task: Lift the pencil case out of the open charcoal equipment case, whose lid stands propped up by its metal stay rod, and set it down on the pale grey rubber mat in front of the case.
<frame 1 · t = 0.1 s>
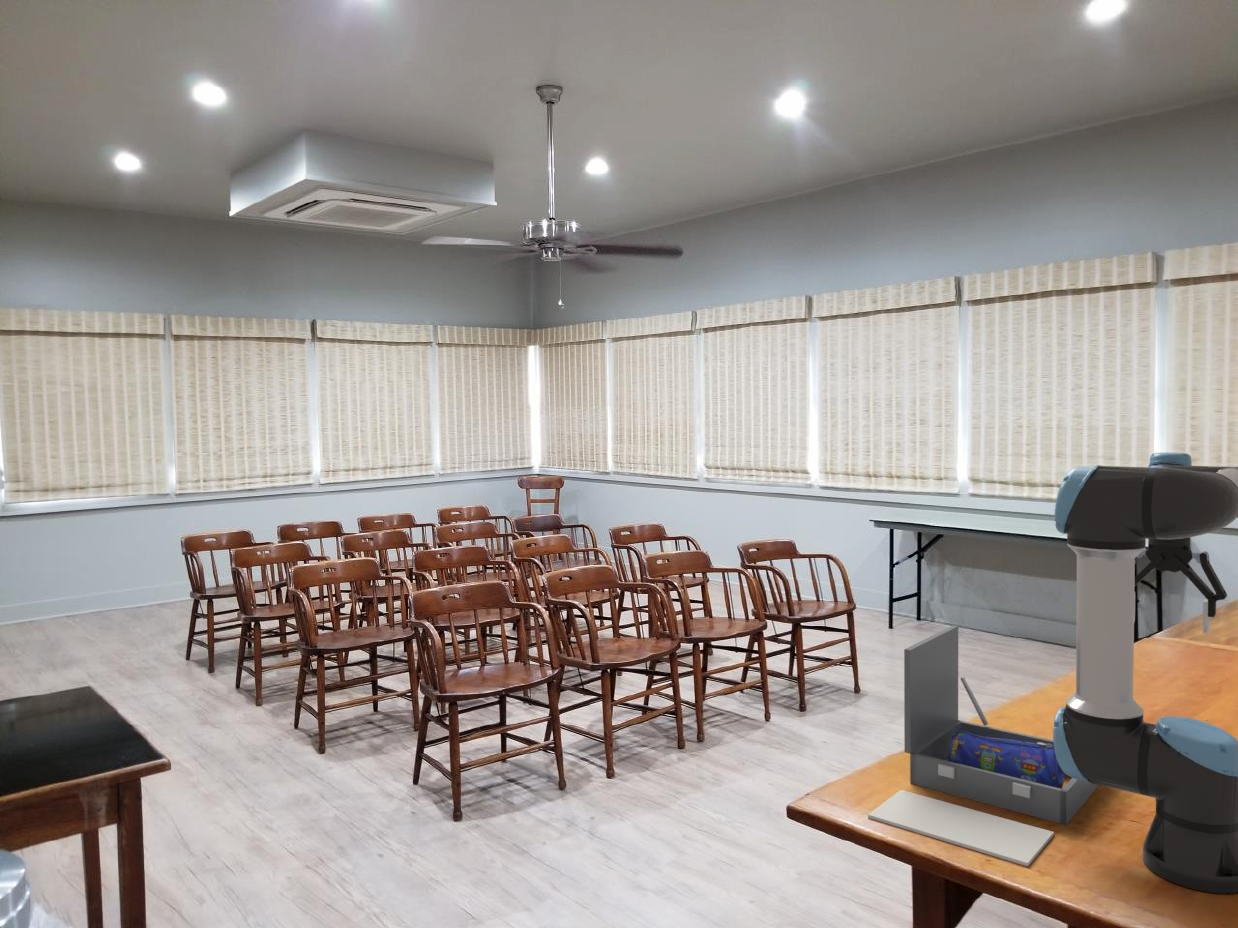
hand: (1167, 627, 189), 28 cm above the table, tool pointing down, fingers open, 13 cm apart
equipment case: (1006, 781, 180), on the table
pencil case: (1006, 783, 180), resting in equipment case
smartphone: (1111, 740, 202), on the table
grey mat: (958, 826, 161), on the table
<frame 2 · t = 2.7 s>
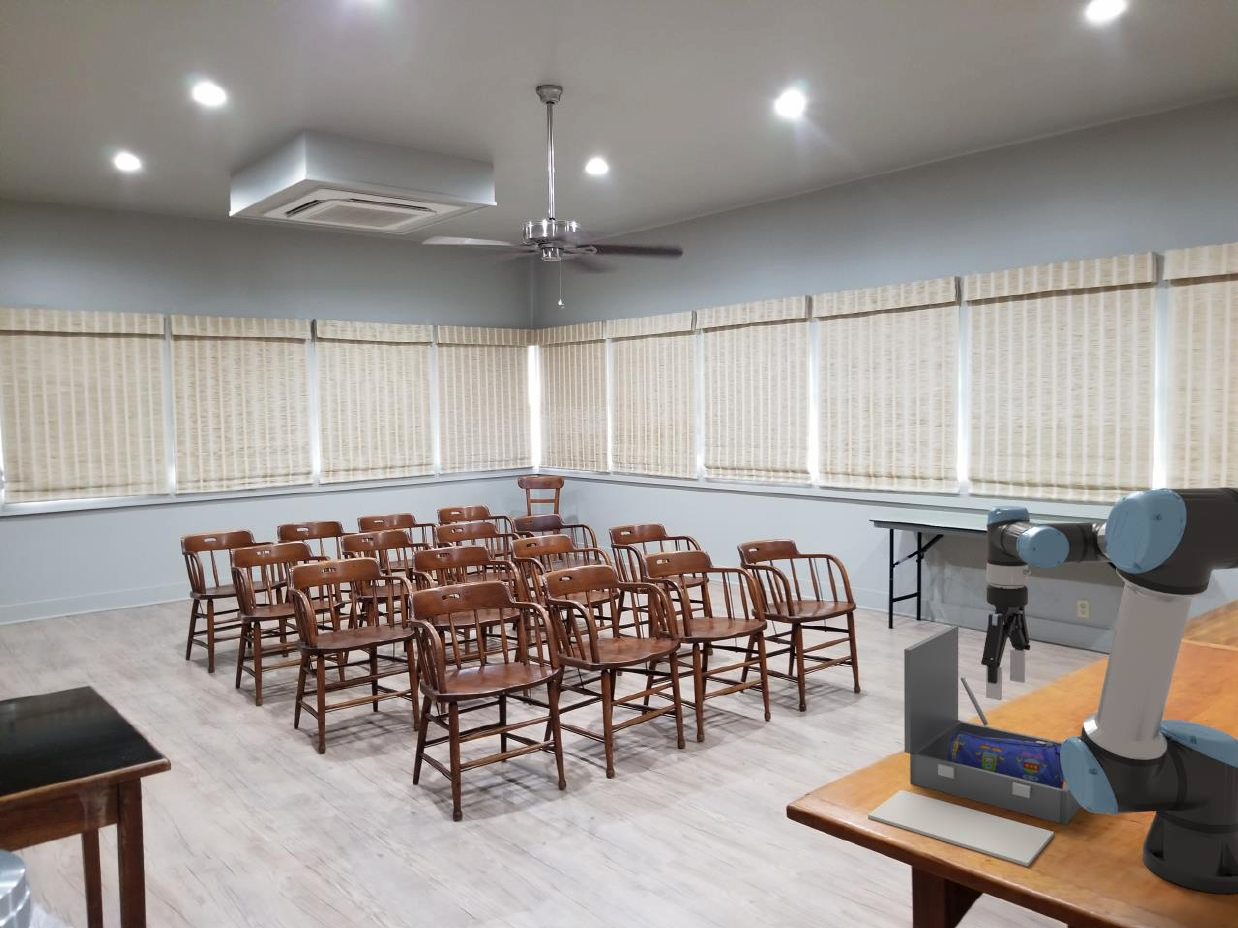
hand: (1005, 689, 179), 19 cm above the table, tool pointing down, fingers open, 13 cm apart
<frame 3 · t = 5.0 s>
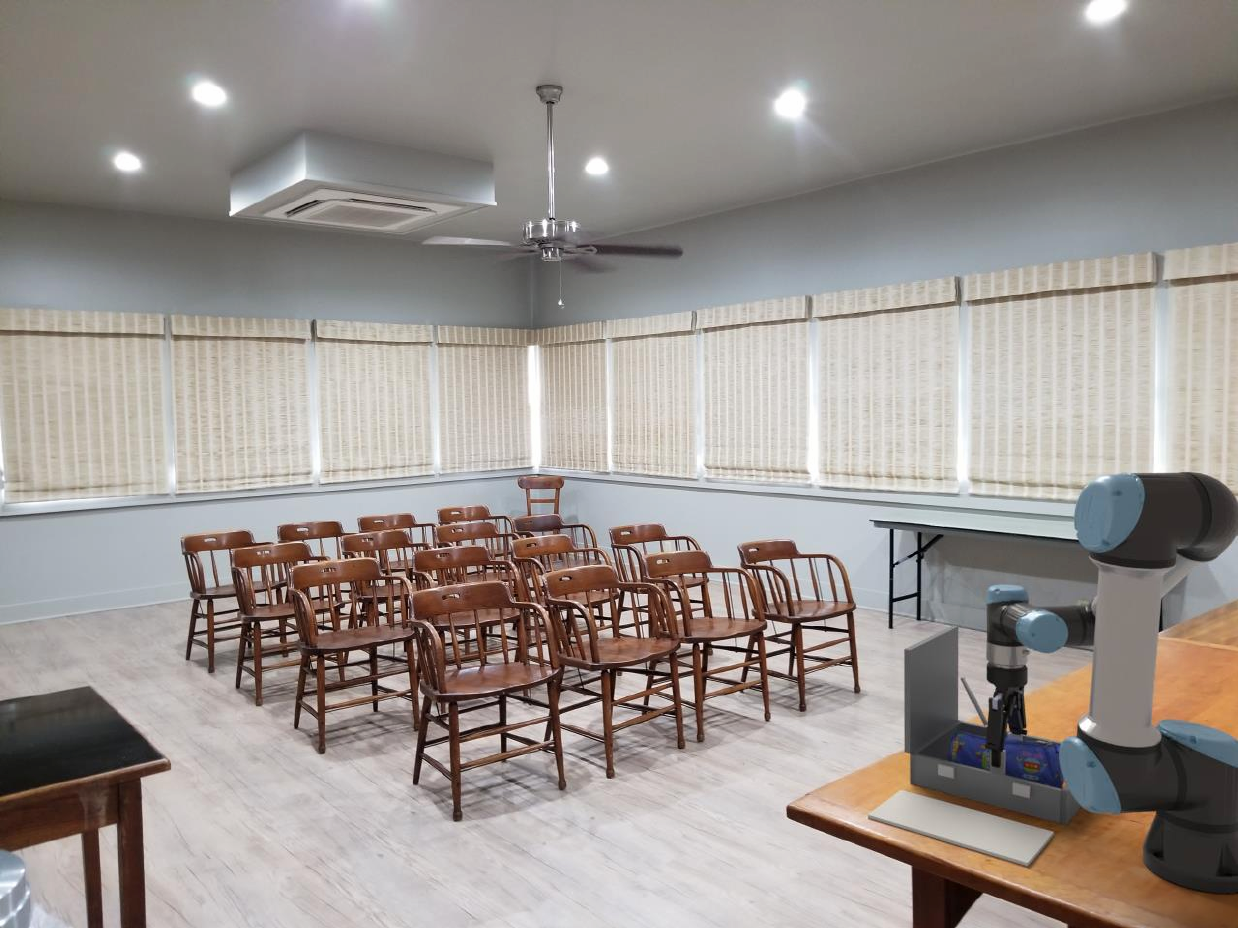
hand: (1006, 773, 180), 2 cm above the table, tool pointing down, fingers closed on pencil case, 9 cm apart
pencil case: (1005, 782, 180), resting in equipment case, touching gripper
everything else where it was.
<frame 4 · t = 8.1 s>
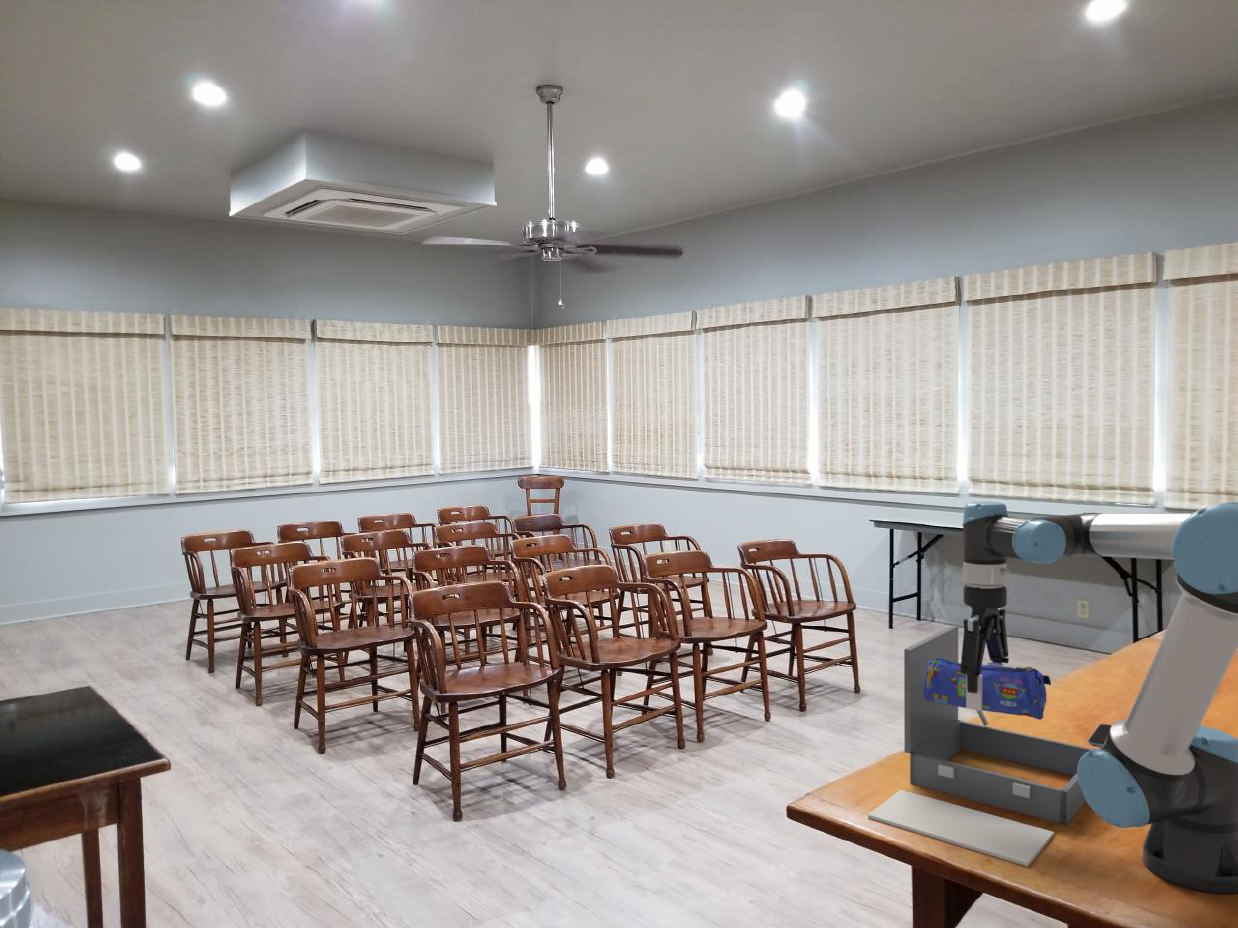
hand: (985, 702, 170), 19 cm above the table, tool pointing down, fingers closed on pencil case, 9 cm apart
pencil case: (984, 711, 170), point 17 cm above the table, touching gripper
everything else where it was.
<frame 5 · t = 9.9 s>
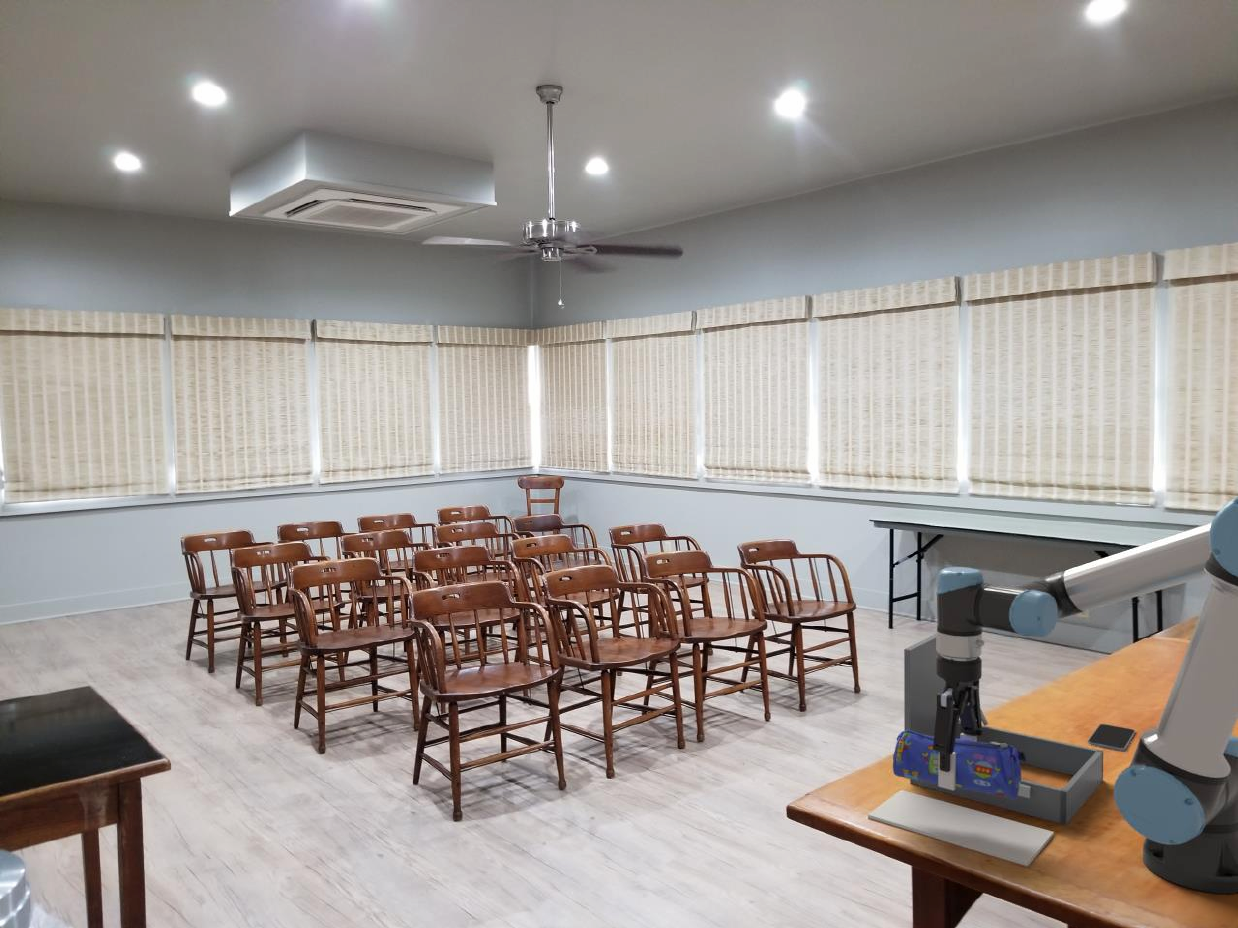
hand: (957, 778, 161), 9 cm above the table, tool pointing down, fingers closed on pencil case, 9 cm apart
pencil case: (956, 788, 161), point 7 cm above the table, touching gripper
everything else where it was.
when the fingers open (3 cm above the table, at t = 11.5 s): pencil case drops 1 cm, resting on grey mat.
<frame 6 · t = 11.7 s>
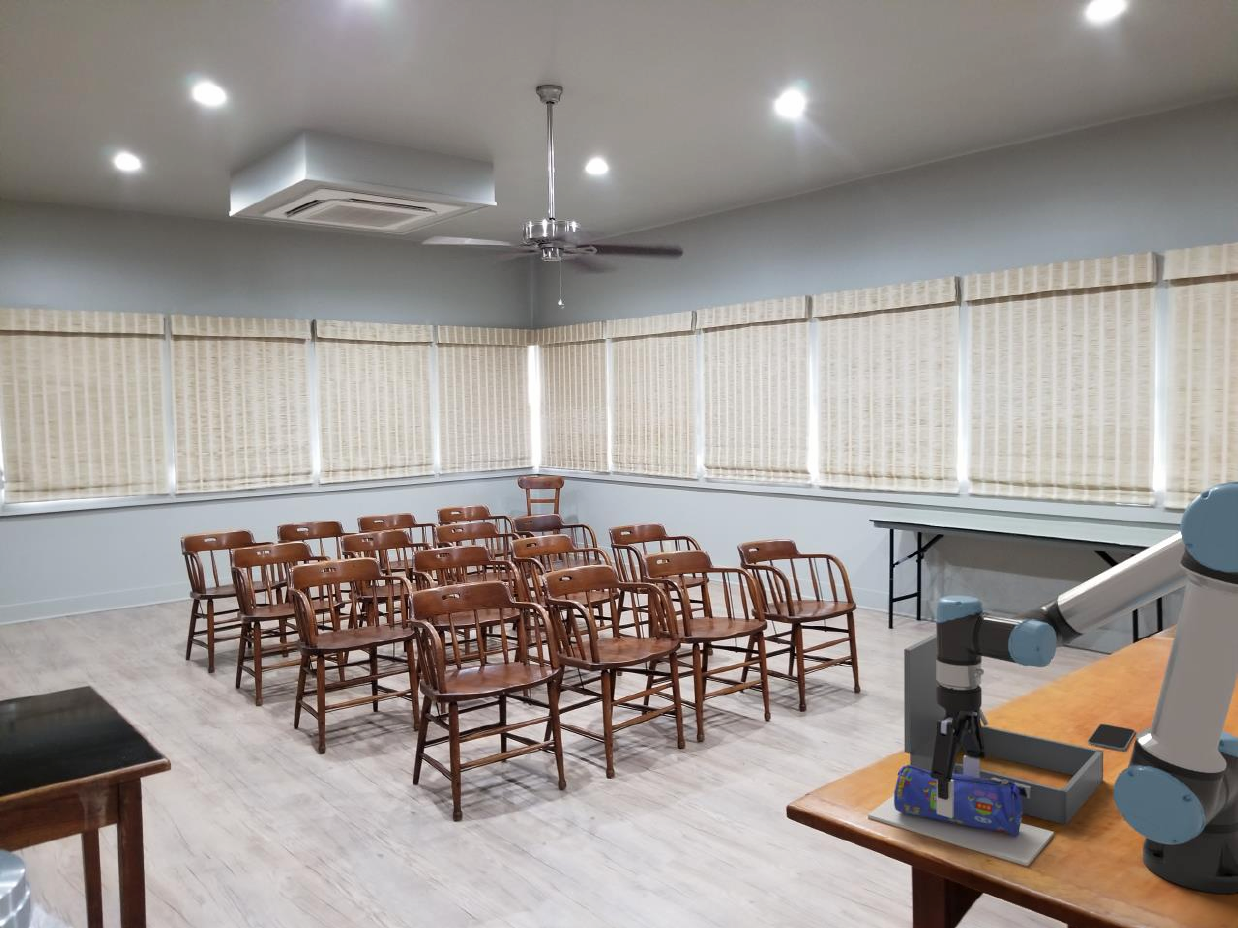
hand: (958, 803, 161), 4 cm above the table, tool pointing down, fingers open, 11 cm apart
pencil case: (958, 823, 161), resting on grey mat
everything else where it was.
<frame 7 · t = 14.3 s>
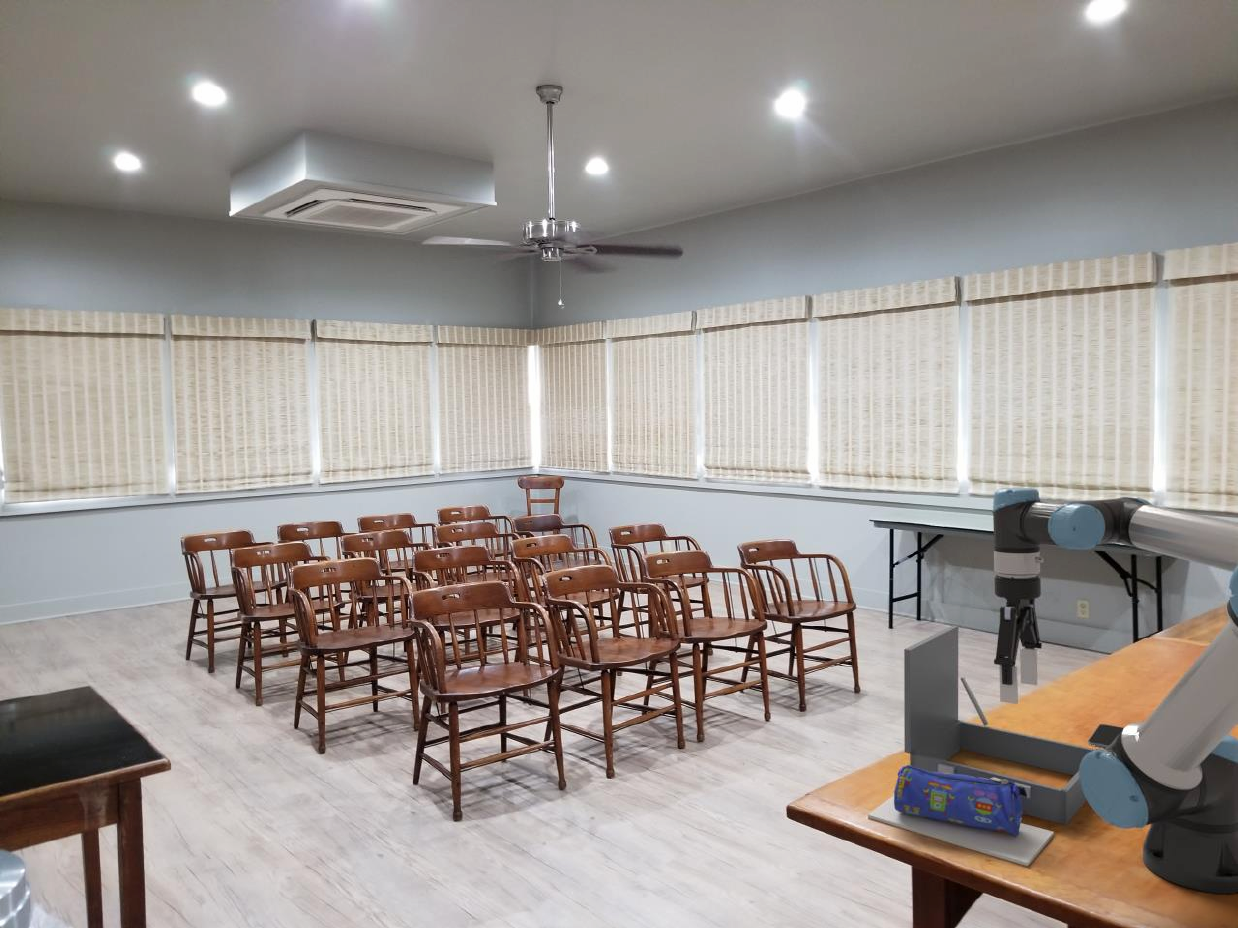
hand: (1019, 692, 161), 24 cm above the table, tool pointing down, fingers open, 13 cm apart
nothing on the table moved.
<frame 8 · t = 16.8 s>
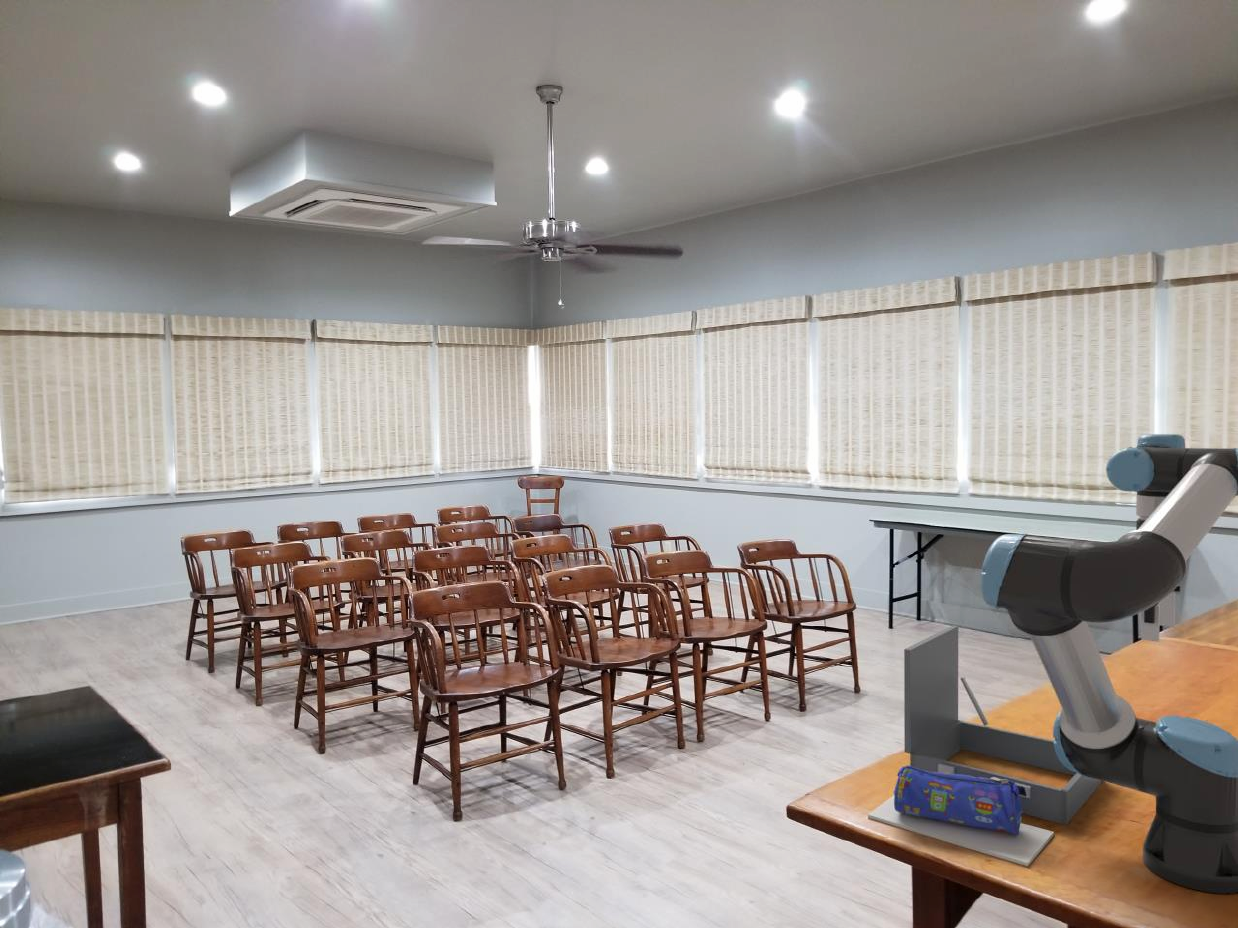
hand: (1158, 632, 166), 33 cm above the table, tool pointing down, fingers open, 13 cm apart
nothing on the table moved.
at the end: pencil case inside the target area on the grey mat (0.1 cm from its centre), point 0.4 cm above the grey mat's base; pencil case tilted 0°; the gripper is holding nothing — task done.
